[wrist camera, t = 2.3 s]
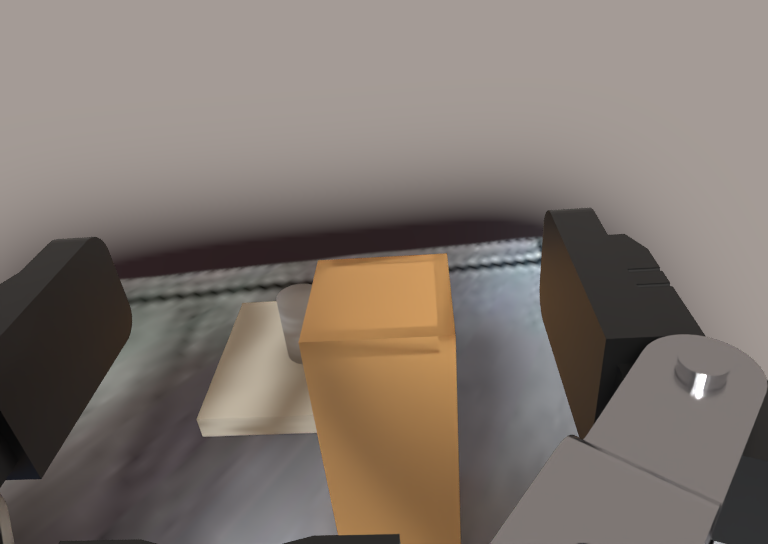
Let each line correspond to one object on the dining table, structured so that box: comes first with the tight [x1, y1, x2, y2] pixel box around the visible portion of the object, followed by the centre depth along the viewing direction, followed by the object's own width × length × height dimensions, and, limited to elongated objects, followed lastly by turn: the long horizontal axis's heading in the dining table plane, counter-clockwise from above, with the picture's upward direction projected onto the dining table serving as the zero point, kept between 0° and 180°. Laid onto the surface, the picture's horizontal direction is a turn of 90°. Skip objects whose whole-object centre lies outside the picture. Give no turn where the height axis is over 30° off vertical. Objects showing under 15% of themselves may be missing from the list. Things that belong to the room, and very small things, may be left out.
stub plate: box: [197, 284, 317, 437], centre depth 40 cm, size 12×12×6 cm
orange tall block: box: [298, 253, 461, 544], centre depth 27 cm, size 6×6×14 cm
